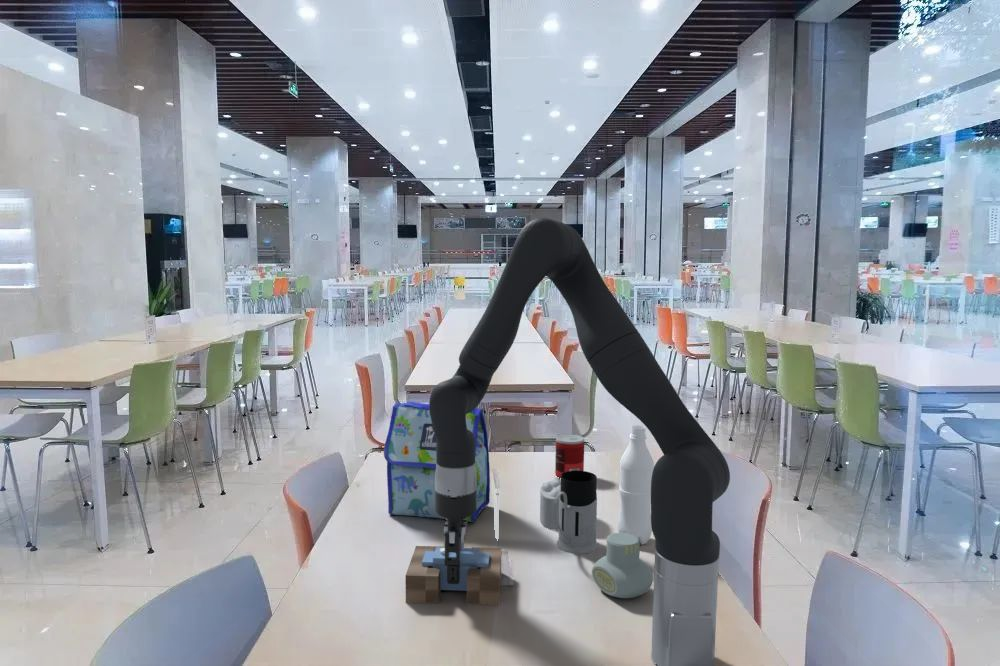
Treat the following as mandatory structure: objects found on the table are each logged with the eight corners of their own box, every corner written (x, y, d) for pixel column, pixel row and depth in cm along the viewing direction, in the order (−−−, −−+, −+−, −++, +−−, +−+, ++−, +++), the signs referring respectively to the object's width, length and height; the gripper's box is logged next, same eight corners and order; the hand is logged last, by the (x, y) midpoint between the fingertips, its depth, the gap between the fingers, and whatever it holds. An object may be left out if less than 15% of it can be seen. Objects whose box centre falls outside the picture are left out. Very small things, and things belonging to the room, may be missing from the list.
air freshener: (659, 598, 121) (661, 545, 119) (623, 610, 117) (625, 555, 115) (620, 573, 130) (621, 523, 129) (585, 583, 126) (586, 532, 125)
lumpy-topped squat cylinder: (541, 529, 150) (542, 492, 149) (538, 508, 163) (538, 473, 162) (588, 530, 150) (589, 492, 149) (581, 508, 163) (582, 473, 162)
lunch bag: (381, 520, 155) (379, 409, 152) (407, 495, 171) (406, 394, 168) (473, 530, 149) (474, 415, 146) (492, 503, 165) (493, 399, 162)
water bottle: (651, 549, 141) (656, 432, 138) (617, 545, 142) (620, 430, 139) (651, 535, 148) (655, 423, 145) (618, 532, 149) (621, 421, 146)
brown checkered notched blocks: (499, 604, 118) (499, 577, 117) (405, 602, 118) (405, 575, 118) (501, 572, 130) (501, 547, 129) (416, 570, 130) (416, 545, 130)
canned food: (588, 475, 187) (589, 436, 186) (575, 483, 181) (576, 443, 179) (563, 470, 191) (564, 432, 190) (550, 478, 185) (550, 439, 183)
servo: (488, 591, 122) (488, 556, 121) (422, 589, 122) (421, 554, 121) (489, 579, 126) (489, 545, 125) (425, 577, 127) (425, 543, 126)
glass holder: (605, 542, 144) (606, 474, 142) (573, 567, 132) (575, 494, 130) (568, 532, 149) (570, 466, 147) (535, 556, 137) (536, 485, 135)
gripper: (439, 473, 129) (440, 554, 131) (429, 500, 115) (430, 590, 117) (478, 474, 129) (478, 555, 131) (473, 501, 115) (473, 591, 117)
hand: (455, 571), depth 124 cm, fingers open, 8 cm apart
